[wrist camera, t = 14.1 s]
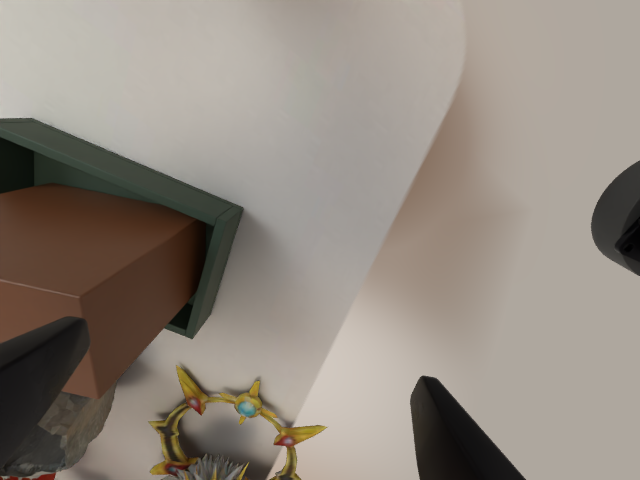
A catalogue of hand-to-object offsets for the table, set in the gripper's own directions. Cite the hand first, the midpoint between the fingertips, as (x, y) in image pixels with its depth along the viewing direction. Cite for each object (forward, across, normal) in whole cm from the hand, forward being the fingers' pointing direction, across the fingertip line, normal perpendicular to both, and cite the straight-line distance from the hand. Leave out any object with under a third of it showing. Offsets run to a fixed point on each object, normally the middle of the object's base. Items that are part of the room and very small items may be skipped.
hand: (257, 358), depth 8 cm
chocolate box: (+13, +12, +5) cm, 18 cm away
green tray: (+14, +12, +4) cm, 19 cm away
